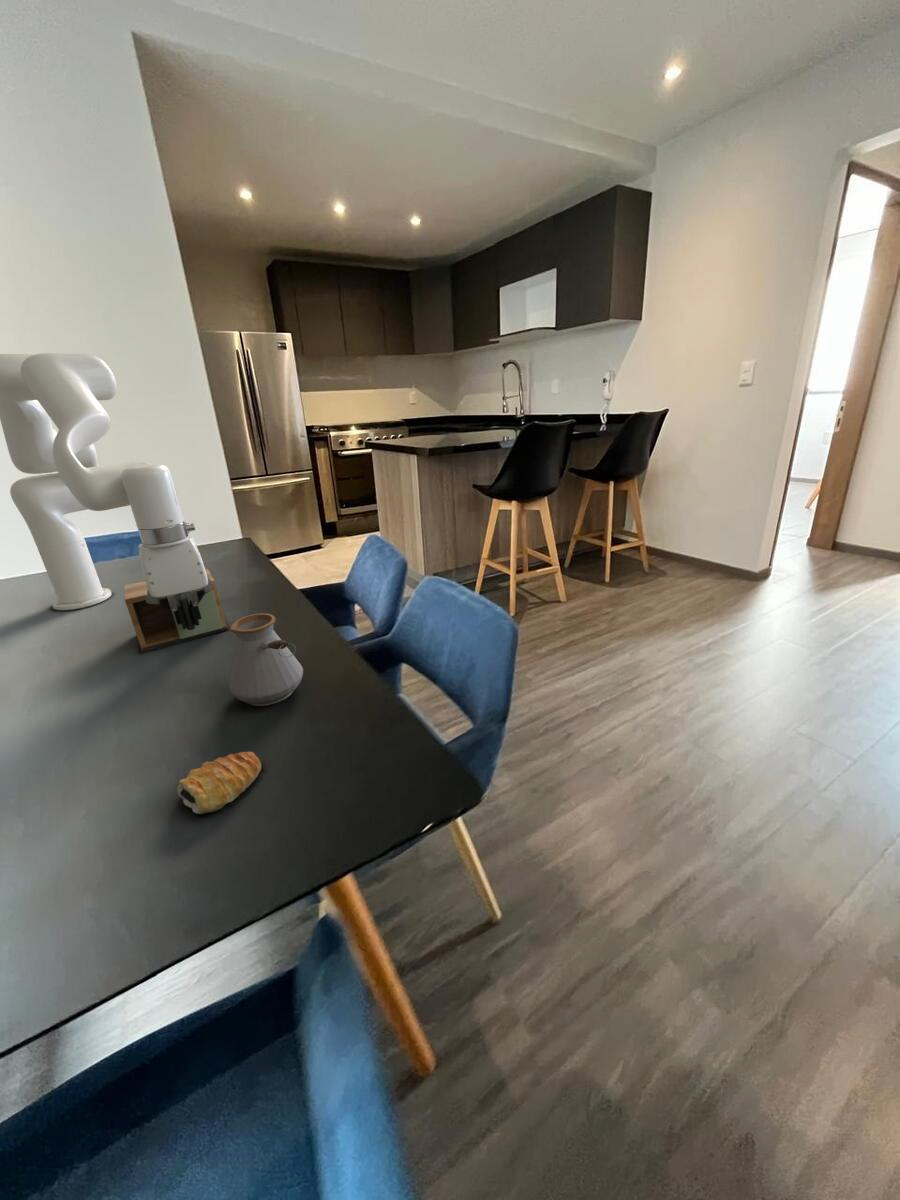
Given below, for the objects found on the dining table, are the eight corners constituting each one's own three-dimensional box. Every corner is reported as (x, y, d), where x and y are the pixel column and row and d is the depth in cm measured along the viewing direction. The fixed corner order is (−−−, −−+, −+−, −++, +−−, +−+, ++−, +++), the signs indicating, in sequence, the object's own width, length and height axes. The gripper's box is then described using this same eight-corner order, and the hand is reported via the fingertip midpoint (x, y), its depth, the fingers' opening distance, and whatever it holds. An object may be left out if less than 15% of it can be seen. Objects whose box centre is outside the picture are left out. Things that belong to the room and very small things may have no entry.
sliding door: (226, 635, 101) (214, 589, 97) (182, 647, 97) (168, 600, 93) (222, 627, 104) (210, 583, 101) (180, 638, 101) (166, 593, 97)
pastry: (243, 755, 66) (237, 732, 65) (274, 774, 63) (268, 750, 61) (175, 801, 59) (166, 776, 58) (205, 825, 56) (197, 799, 54)
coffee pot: (224, 691, 82) (201, 609, 76) (291, 666, 88) (274, 589, 82) (266, 757, 66) (241, 659, 60) (344, 721, 72) (328, 630, 66)
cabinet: (228, 630, 104) (215, 581, 100) (142, 652, 97) (124, 601, 93) (219, 613, 113) (207, 568, 109) (140, 632, 106) (124, 585, 101)
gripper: (207, 523, 97) (229, 608, 104) (114, 538, 89) (144, 629, 96) (213, 530, 91) (235, 620, 98) (113, 547, 83) (146, 643, 90)
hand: (190, 624), depth 97 cm, fingers closed, pressing on sliding door
